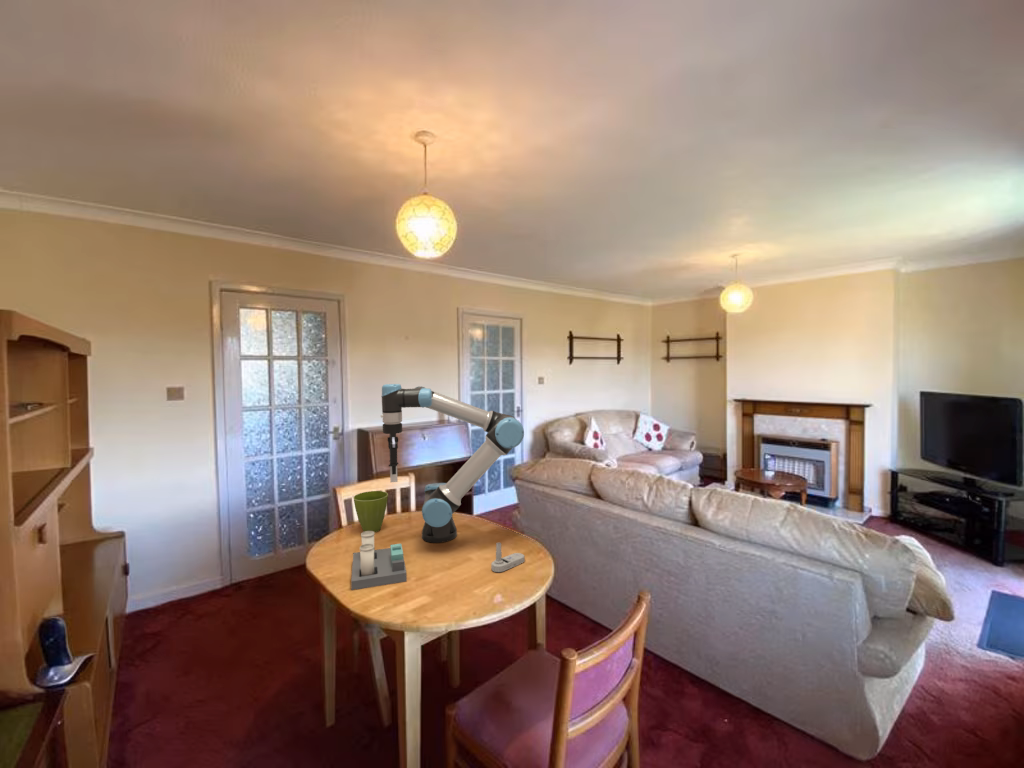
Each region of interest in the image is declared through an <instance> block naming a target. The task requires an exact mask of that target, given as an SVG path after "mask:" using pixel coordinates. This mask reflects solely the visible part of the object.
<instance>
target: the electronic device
mask: <svg viewBox="0 0 1024 768" xmlns="http://www.w3.org/2000/svg"><path fill="white" fill-rule="evenodd" d="M495 544H496V546H495V547H496V548H495V559H494V561H492V562H491V564H490V565H491V566H490V567H491V570H492V572H494V573H503V572H505V571H508V570H510V569H512V568H514V567H517V566H519V565H521V563H522V564H524V563H525V562H526V561H525V560H526V559H525V555H524V554H523V553H521V552H515V553H511V554H508V555H506V556H504V557H502V554H503V553H502V543H501V542H496V543H495ZM523 562H524V563H523Z"/></svg>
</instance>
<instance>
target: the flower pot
mask: <svg viewBox="0 0 1024 768" xmlns="http://www.w3.org/2000/svg"><path fill="white" fill-rule="evenodd" d="M388 498H389V494H388V492H386V491H382V490H371V491H365V492H360V493H356V494H355V495H353V502H354V508H355V512H356V515H357V518H358V522H359V524H360V527H361V529H362V532H365V531H374V533H377V532H379V531H380V530H381V529H382V525H383V522H384V519H385V516H386V511H387V505H388Z"/></svg>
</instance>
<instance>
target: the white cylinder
mask: <svg viewBox="0 0 1024 768" xmlns="http://www.w3.org/2000/svg"><path fill="white" fill-rule="evenodd" d="M360 537H361V545H364V544H373V545H374V546H375V532H374V531H365V532H364V531H362V532H361V533H360ZM375 550H376V549H374V559H375Z"/></svg>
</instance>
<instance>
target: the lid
mask: <svg viewBox="0 0 1024 768" xmlns="http://www.w3.org/2000/svg"><path fill="white" fill-rule="evenodd" d="M389 548H391V562H392V561H395V560H402V559H403V557H404V550H403V546H402V543H396V544H390V547H389Z"/></svg>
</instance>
